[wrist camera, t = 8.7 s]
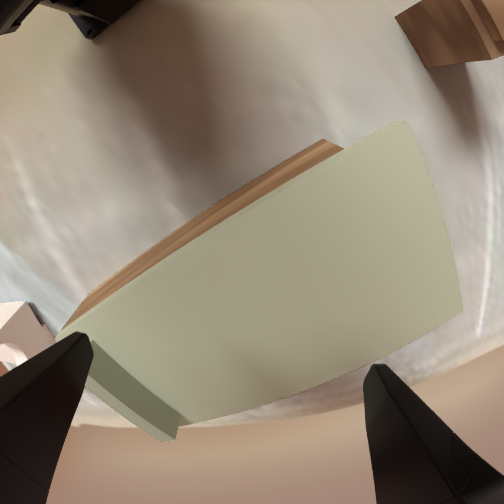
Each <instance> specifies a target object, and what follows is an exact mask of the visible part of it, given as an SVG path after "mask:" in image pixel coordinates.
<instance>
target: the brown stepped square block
mask: <svg viewBox="0 0 504 504" xmlns="http://www.w3.org/2000/svg"><path fill="white" fill-rule="evenodd" d="M395 18H396V20H397V21H398V23H399V24H400V26H401V28H402V29H403V31H404V32H405V34H406V35H407V37H408V39H409V40H410V42H411V44H412V45H413V47H414V49H415V51H416V52H417V54H418V56H419V58H420V60H421V61H422V63H423V65H424V67H425V69H426V68H432V67H437V66H443V65H450V64H457V63H464V62H473V61H482V60H492V59H495V58H498V57H500V56H503V55H504V0H422V1H420V2H418V3H417V4H415V5H413V6H412V7H410V8H408V9H407V10H405V11H403V12H402V13H400V14H399V15H397V16H395Z"/></svg>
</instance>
